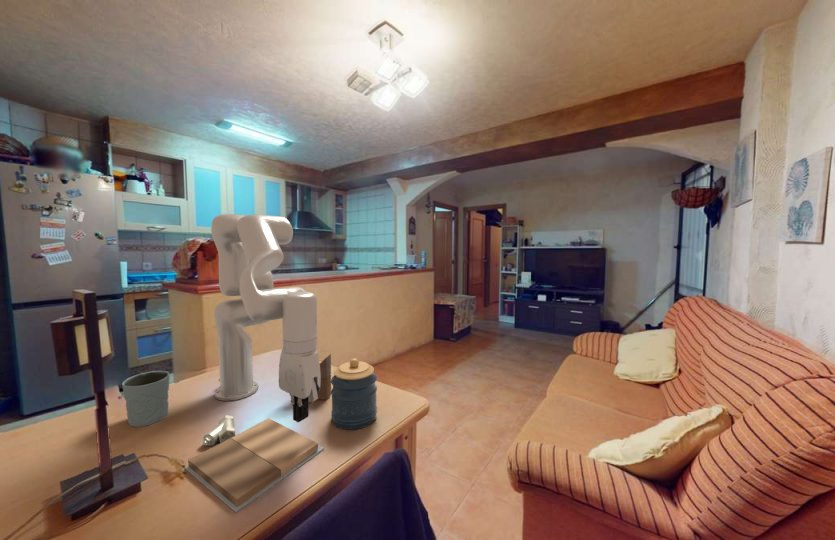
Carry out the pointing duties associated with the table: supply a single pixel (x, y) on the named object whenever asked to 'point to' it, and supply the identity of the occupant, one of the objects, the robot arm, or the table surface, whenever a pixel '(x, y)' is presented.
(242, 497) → the floor board
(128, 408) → the grey pot
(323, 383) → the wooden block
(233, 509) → the underlay mat
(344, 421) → the canister
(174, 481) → the table surface
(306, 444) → the plank
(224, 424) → the pipe fitting
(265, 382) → the table surface
